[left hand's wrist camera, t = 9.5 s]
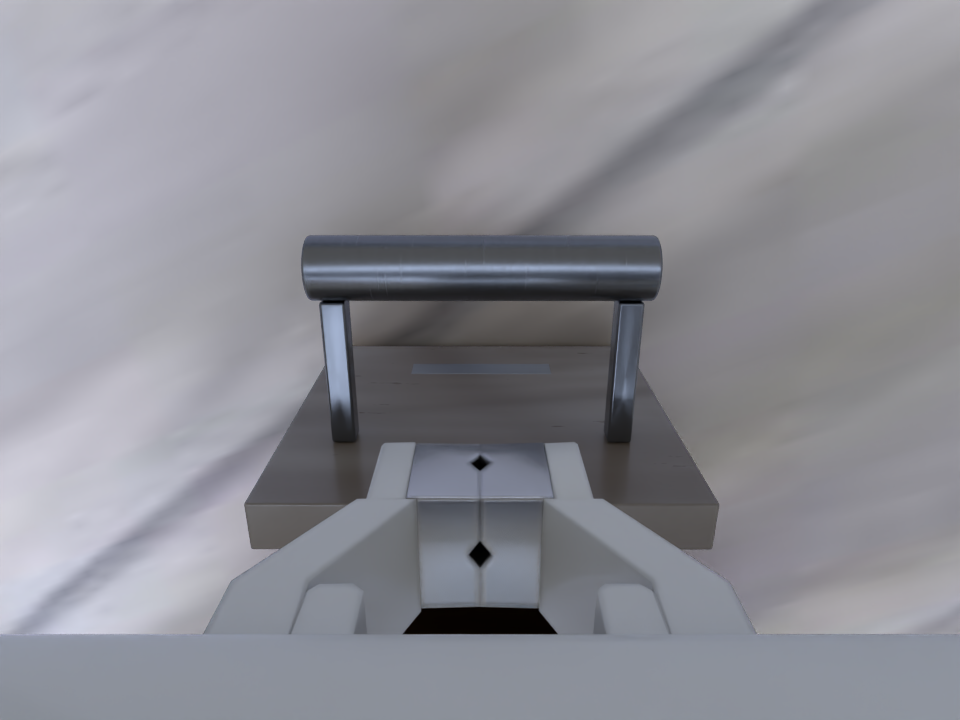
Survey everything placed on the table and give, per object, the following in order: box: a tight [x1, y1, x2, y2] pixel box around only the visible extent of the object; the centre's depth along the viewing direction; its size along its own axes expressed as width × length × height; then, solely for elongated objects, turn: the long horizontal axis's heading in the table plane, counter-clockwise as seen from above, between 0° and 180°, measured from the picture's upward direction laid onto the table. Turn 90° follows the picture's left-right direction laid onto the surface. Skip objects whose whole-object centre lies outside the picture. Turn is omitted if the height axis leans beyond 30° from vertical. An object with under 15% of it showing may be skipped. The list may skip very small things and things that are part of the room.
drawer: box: [244, 235, 719, 634], centre depth 21 cm, size 23×10×10 cm, turn 0°
